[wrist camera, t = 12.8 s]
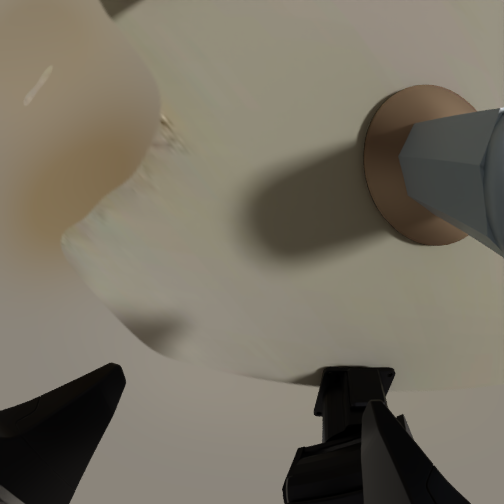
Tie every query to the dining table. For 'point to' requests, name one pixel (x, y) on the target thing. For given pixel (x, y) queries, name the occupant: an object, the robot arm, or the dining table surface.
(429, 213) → the brown pegged disc
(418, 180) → the blue dome cap nut
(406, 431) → the robot arm
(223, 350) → the dining table surface
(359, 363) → the dining table surface
